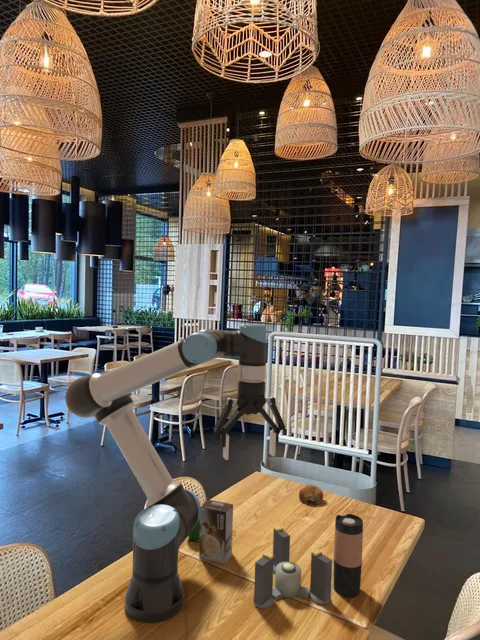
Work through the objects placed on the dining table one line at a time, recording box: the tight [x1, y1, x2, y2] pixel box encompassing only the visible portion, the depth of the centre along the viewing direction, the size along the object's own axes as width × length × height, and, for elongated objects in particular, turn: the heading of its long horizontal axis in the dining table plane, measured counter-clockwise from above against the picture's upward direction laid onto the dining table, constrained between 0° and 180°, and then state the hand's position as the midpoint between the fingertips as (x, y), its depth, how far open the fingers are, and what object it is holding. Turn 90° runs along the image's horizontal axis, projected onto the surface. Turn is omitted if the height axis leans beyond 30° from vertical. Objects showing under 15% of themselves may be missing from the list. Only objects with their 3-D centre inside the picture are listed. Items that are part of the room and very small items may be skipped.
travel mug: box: [333, 513, 364, 599], centre depth 123 cm, size 8×8×20 cm
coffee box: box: [198, 499, 234, 565], centre depth 138 cm, size 9×6×16 cm
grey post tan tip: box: [309, 548, 333, 606], centre depth 119 cm, size 5×5×12 cm
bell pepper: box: [187, 518, 200, 542], centre depth 149 cm, size 8×8×10 cm
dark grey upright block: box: [252, 551, 274, 609], centre depth 117 cm, size 5×5×12 cm
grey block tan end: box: [272, 525, 291, 575], centre depth 131 cm, size 5×5×12 cm
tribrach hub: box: [272, 561, 311, 601], centre depth 123 cm, size 12×11×7 cm
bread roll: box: [298, 483, 324, 506], centre depth 182 cm, size 10×10×8 cm
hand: (249, 456), depth 122 cm, fingers open, 13 cm apart
